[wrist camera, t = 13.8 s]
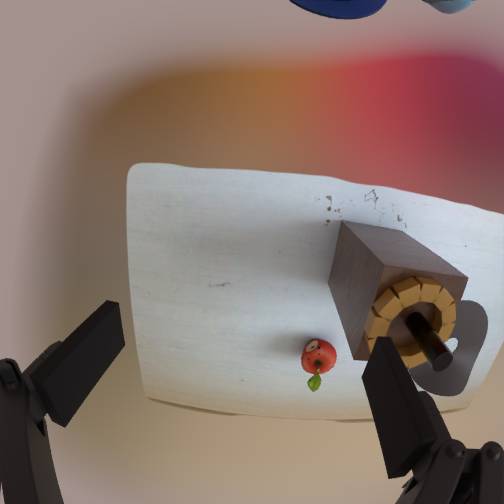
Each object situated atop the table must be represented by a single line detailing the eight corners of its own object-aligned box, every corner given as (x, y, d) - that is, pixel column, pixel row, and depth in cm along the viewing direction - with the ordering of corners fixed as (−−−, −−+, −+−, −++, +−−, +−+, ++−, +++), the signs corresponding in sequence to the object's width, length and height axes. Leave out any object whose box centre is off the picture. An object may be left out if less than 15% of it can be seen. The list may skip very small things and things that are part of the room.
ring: (381, 270, 27) (387, 278, 25) (460, 282, 27) (468, 289, 25) (352, 357, 31) (355, 368, 29) (427, 360, 30) (433, 369, 28)
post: (409, 310, 28) (439, 352, 21) (426, 312, 28) (457, 352, 21) (402, 329, 29) (428, 372, 21) (419, 329, 29) (446, 371, 21)
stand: (341, 220, 48) (384, 265, 27) (402, 231, 47) (468, 277, 26) (328, 284, 52) (353, 360, 31) (386, 291, 51) (433, 361, 30)
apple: (299, 332, 55) (302, 364, 46) (333, 329, 54) (342, 360, 45) (300, 362, 57) (302, 395, 48) (332, 359, 57) (339, 391, 47)
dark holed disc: (501, 308, 50) (522, 327, 41) (465, 373, 56) (479, 395, 47) (435, 291, 50) (457, 313, 41) (395, 368, 56) (408, 395, 47)
